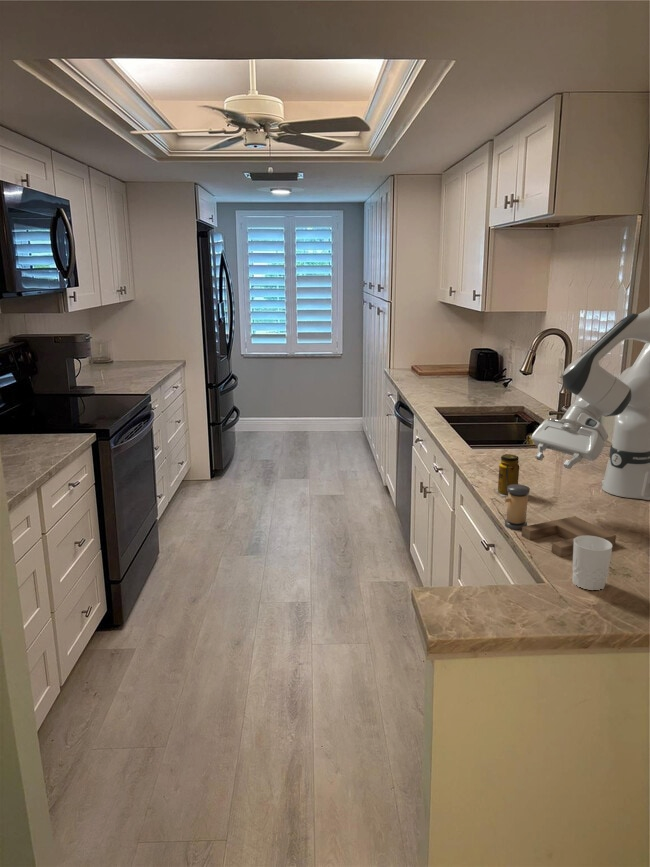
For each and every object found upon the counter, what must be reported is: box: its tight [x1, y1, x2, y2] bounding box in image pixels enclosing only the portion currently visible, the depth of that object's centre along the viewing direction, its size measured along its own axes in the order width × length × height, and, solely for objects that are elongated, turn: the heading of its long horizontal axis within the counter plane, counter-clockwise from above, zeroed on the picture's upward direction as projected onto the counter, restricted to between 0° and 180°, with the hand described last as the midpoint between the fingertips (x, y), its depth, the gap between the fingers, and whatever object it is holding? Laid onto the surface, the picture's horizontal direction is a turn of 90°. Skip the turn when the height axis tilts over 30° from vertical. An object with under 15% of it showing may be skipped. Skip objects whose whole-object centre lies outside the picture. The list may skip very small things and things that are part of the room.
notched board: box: [521, 515, 617, 558], centre depth 162 cm, size 18×14×2 cm
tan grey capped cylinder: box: [504, 483, 531, 531], centre depth 170 cm, size 7×6×11 cm
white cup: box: [571, 536, 614, 591], centre depth 138 cm, size 8×8×10 cm
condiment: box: [493, 453, 520, 498], centre depth 196 cm, size 7×8×12 cm
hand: (552, 463), depth 173 cm, fingers open, 8 cm apart
